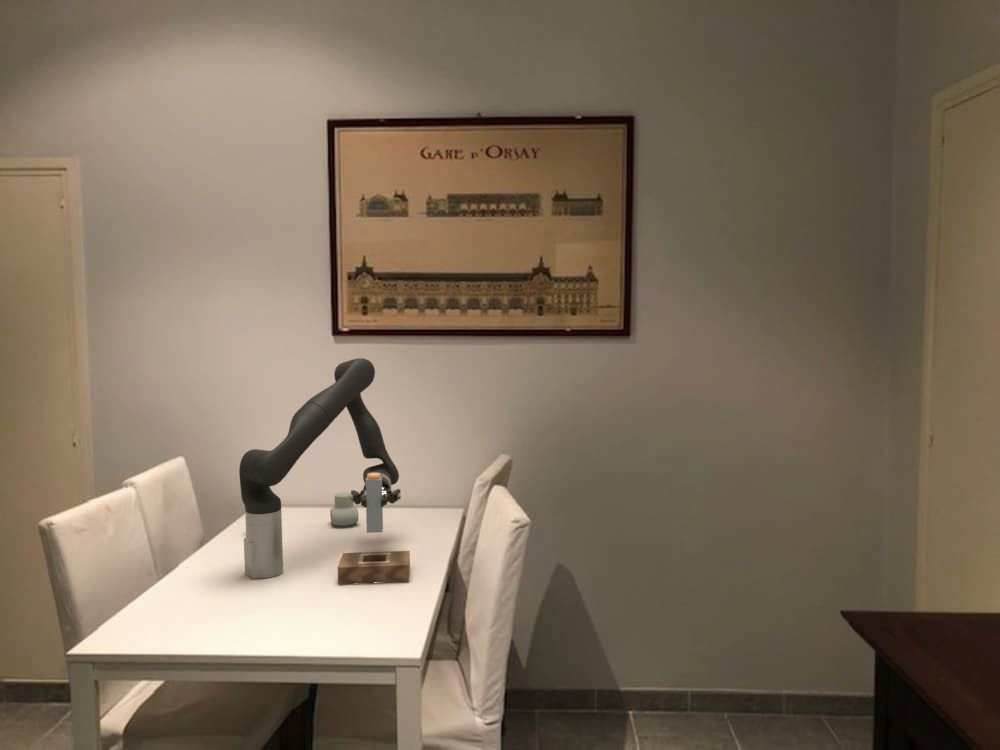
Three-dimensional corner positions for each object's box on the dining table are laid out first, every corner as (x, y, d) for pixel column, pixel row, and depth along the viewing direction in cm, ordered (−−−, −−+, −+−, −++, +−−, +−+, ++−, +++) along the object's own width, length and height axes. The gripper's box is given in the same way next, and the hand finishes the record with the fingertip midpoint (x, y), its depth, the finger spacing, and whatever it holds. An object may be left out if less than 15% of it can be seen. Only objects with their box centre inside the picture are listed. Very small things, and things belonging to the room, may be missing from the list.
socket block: (338, 584, 205) (337, 566, 204) (343, 569, 217) (342, 552, 216) (408, 582, 206) (408, 564, 206) (409, 566, 218) (409, 550, 218)
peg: (366, 532, 209) (365, 475, 208) (367, 528, 213) (366, 472, 212) (382, 532, 210) (381, 475, 208) (382, 528, 214) (381, 472, 212)
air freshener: (330, 521, 265) (329, 491, 264) (355, 518, 268) (354, 489, 267) (333, 529, 255) (332, 499, 254) (359, 527, 257) (358, 497, 256)
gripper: (351, 475, 224) (345, 489, 207) (402, 474, 225) (400, 488, 208) (352, 502, 225) (346, 518, 208) (403, 500, 226) (401, 516, 209)
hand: (373, 503), depth 208 cm, fingers closed on peg, 4 cm apart
